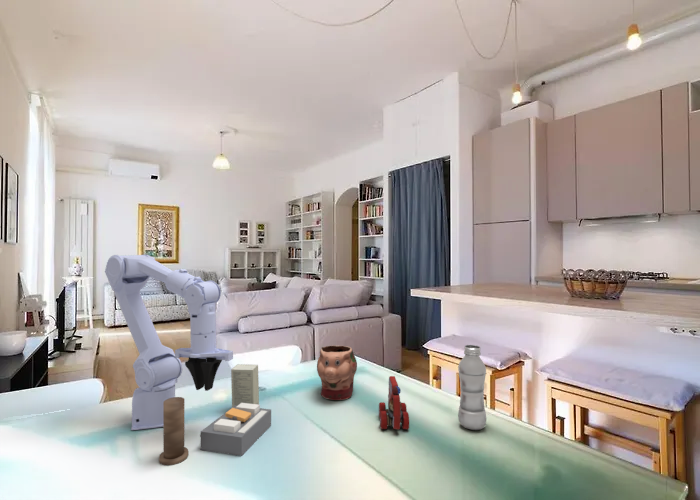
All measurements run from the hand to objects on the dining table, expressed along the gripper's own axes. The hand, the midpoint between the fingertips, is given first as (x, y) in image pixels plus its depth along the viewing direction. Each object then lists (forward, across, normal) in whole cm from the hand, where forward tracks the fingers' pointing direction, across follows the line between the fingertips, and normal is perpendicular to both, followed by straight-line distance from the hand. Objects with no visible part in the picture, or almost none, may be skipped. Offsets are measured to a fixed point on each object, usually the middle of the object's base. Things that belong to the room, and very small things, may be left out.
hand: (204, 388), depth 89 cm
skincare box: (+11, +3, +13) cm, 17 cm away
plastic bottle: (+12, +62, +19) cm, 66 cm away
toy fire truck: (+12, +43, +16) cm, 47 cm away
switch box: (+11, +9, 0) cm, 14 cm away
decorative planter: (+11, +24, +31) cm, 41 cm away
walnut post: (+10, 0, -11) cm, 15 cm away
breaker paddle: (+6, +9, 0) cm, 11 cm away
